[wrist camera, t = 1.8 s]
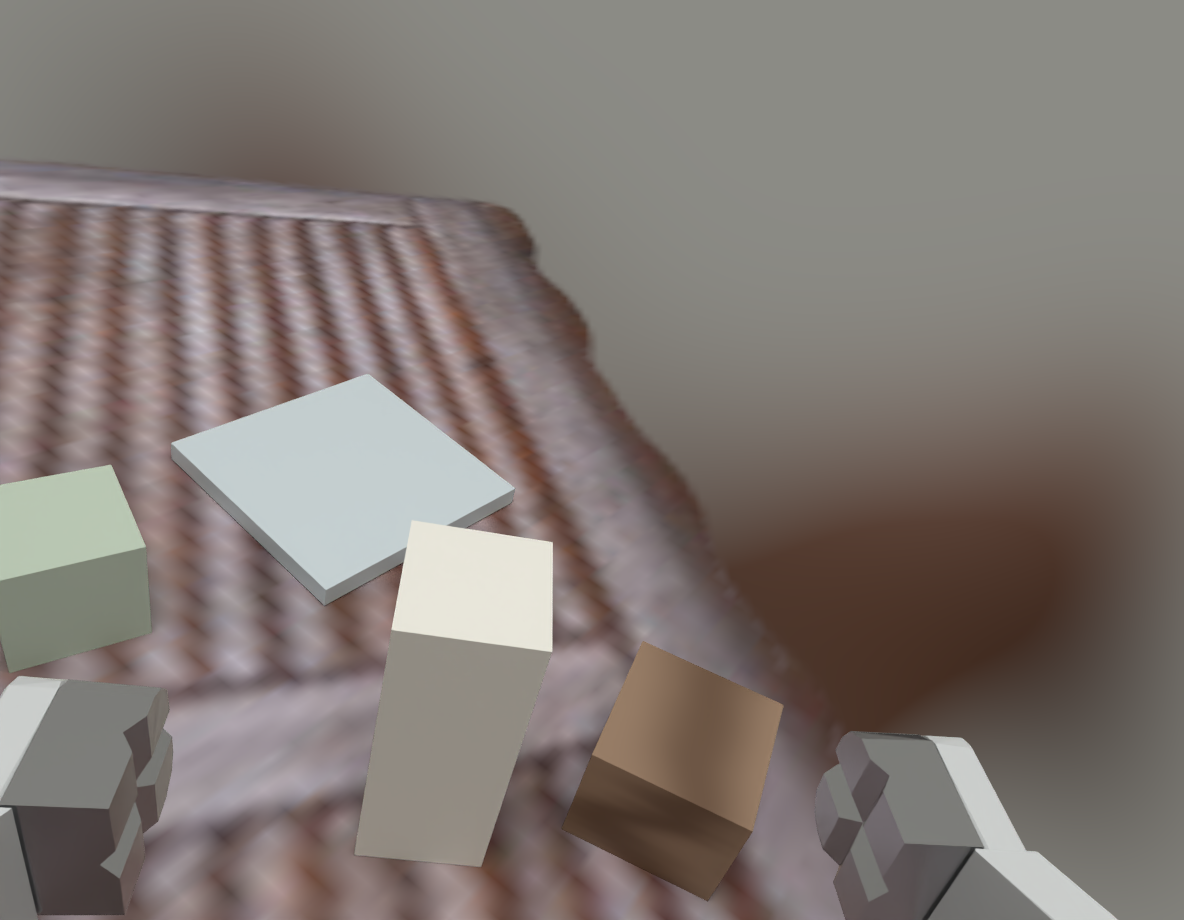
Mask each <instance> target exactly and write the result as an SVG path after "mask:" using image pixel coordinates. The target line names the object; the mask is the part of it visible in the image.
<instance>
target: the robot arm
mask: <svg viewBox="0 0 1184 920" xmlns="http://www.w3.org/2000/svg"><path fill="white" fill-rule="evenodd" d="M169 710H170V709H169V701H168V694H167V690H166V689H163V688H157V687H146V686H134V685H123V684H112V683H101V682H89V681H78V680H62V679H49V678H37V677H25V676H18V677H17V678H16V679H15V680H14V681H13V682H12V683H10V684H9V685H8V686H7V687H6V688H5V689H4V691H3V693H2V694H1V696H0V920H38V916H37V915H125V913H126V910H127V908H128V905H129V902H130V899H131V896H132V894H133V891H134V888H135V885H136V882H137V880H138V877H139V874H140V871H141V868H142V866H143V863H144V860H145V850H144V841H143V833H144V832H146V831H147V830H148V829H149V828H150V827H152V826H153V825H154V824H155V823H157V822H158V820H159V817H160V814H161V811H162V808H163V805H164V802H165V799H166V796H167V791H168V786H169V781H170V777H171V772H172V759H173V744H172V736H171V735H170V734H168V733H167V732H166V731H165V730H164V729H163V726H164V724H165V721H166V718H167V716H168V713H169ZM836 753H837V756H838V759H839V761H840V764H838V765H836V766H835V767H833V768H832V769H830V770H829V771H827V772H826V773H824V775H823V777H822V780H821V782H820V784H819V786H818V789H817V791H816V802H815V819H816V827H817V832H818V835H819V838H820V842H821V845H822V848H823V850H824V851H825V852H826V853H827V854H828V855H829V856H830V857H831V858H832V859H833V860H834V861H835V862H836V863H837V864H838V865H839V868H838V871H837V874H836V876H835V879H834V881H833V883H834V886H835V889H836V892H837V895H838V898H839V901H840V904H841V907H842V910H843V914H844V917H845V920H1117V919H1116V918H1115V917H1114V916H1113V915H1111V914H1110V913H1109V912H1108V911H1107V910H1106V909H1104V908H1103V907H1102V906H1101V905H1100V904H1098V903H1097V902H1096V901H1095V900H1093V899H1092V898H1091V897H1090V896H1089V895H1088V894H1087V893H1085V892H1084V891H1083V890H1082V889H1080V888H1079V887H1078V886H1077V885H1076V884H1075V883H1074V882H1072V881H1071V880H1070V879H1069V878H1068V877H1066V876H1065V875H1064V874H1063V873H1062V872H1060V871H1059V870H1058V869H1057V868H1056V867H1055V866H1053V865H1052V864H1051V863H1050V862H1049V861H1047V860H1046V859H1045V858H1044V857H1043V856H1041V855H1040V854H1039V853H1038V852H1034V851H1026V850H1025V848H1024V846H1023V844H1022V842H1021V840H1020V838H1019V836H1018V834H1017V833H1016V831H1015V829H1014V827H1013V825H1012V823H1011V821H1010V820H1009V817H1008V815H1007V814H1006V812H1005V810H1004V808H1003V806H1002V804H1001V802H1000V800H999V799H998V797H997V795H996V793H995V791H994V789H993V787H992V785H991V783H990V781H989V779H988V778H987V776H986V774H985V772H984V770H983V768H982V766H981V764H980V762H979V761H978V759H977V757H976V755H975V753H974V751H973V749H972V747H971V746H970V745H969V744H968V743H967V742H966V741H965V740H963V738H953V737H937V736H921V735H913V734H894V733H874V732H855V731H851V732H849V733H848V734H846V735H845V736H843V737H842V739H841V741H840V743H839V745H838V747H837V749H836Z"/></svg>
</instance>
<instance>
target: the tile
mask: <svg viewBox="0 0 1184 920" xmlns="http://www.w3.org/2000/svg"><path fill="white" fill-rule="evenodd" d="M171 453H172V460H173V461H174V462H176V463H177V464H178V465H179V466H180V467H181V468H182V469H183V470H184V471H185V472H186V473H187V474H188V475H189V476H190V477H191V478H192V479H193V480H194V481H195V482H196V483H197V484H198V485H199V486H200V487H202V488H203V489H204V490H205V491H206V492H207V493H208V494H209V495H210V496H211V497H212V498H213V499H214V500H215V501H216V502H217V503H218V504H219V505H220V506H221V507H222V508H223V509H224V510H225V511H226V512H228V513H229V514H230V515H231V516H232V517H233V518H234V519H235V520H236V521H237V522H238V523H239V524H240V525H241V526H242V527H243V528H244V529H245V530H246V531H247V532H248V533H249V534H250V535H251V536H252V537H254V538H255V539H256V540H257V541H258V542H259V543H260V544H261V545H262V546H263V547H264V548H265V549H266V550H267V551H268V552H269V553H270V554H271V555H272V556H273V557H274V558H275V559H276V560H277V561H279V562H280V563H281V564H282V565H283V566H284V567H285V568H286V569H287V570H288V571H289V572H290V573H291V574H292V575H293V576H294V577H295V578H296V579H297V580H298V581H299V582H300V583H301V584H302V585H303V586H305V587H306V588H307V589H308V590H309V591H310V592H311V593H312V594H313V595H314V596H315V597H316V598H317V599H318V600H319V601H320V602H321V603H322V604H323V605H324V606H325V605H327V604H328V603H330V602H332V601H334V600H336V599H338V598H339V597H341V596H343V595H345V594H347V593H348V592H350V591H352V590H354V589H356V588H358V587H359V586H361V585H363V584H365V583H367V582H368V581H370V580H372V579H374V578H376V577H378V576H379V575H381V574H383V573H385V572H387V571H388V570H390V569H392V568H394V567H396V566H398V565H399V564H401V563H403V562H404V559H405V554H406V549H407V543H408V538H409V532H410V527H411V521H412V520H414V521H420V522H427V523H433V524H439V525H446V526H452V527H458V528H467V527H468V526H470V525H472V524H474V523H476V522H478V521H479V520H481V519H483V518H485V517H487V516H488V515H490V514H492V513H494V512H496V511H498V510H499V509H501V508H503V507H505V506H507V505H508V504H510V503H512V500H513V496H514V492H515V488H514V487H513V486H511V485H510V484H509V483H508V482H506V481H505V480H504V479H502V478H501V477H500V476H499V475H497V474H496V473H495V472H493V471H492V470H491V469H490V468H488V467H487V466H486V465H484V464H483V463H482V462H481V461H479V460H478V459H477V458H475V457H474V456H473V455H472V454H470V453H469V452H468V451H466V450H465V449H464V448H463V447H461V446H460V445H459V444H457V443H456V442H455V441H454V440H452V439H451V438H450V437H448V436H447V435H446V434H445V433H443V432H442V431H441V430H439V429H438V428H437V427H436V426H434V425H433V424H432V423H431V422H429V421H428V420H427V419H425V418H424V417H423V416H422V415H420V414H419V413H418V412H416V411H415V410H414V409H413V408H411V407H410V406H409V405H407V404H406V403H405V402H404V401H402V400H401V399H400V398H398V397H397V396H396V395H395V394H393V393H392V392H391V391H389V390H388V389H387V388H386V387H384V386H383V385H382V384H380V383H379V382H378V381H377V380H375V379H374V378H373V377H371V376H370V375H369V374H366V375H363V376H360V377H357V378H354V379H351V380H349V381H346V382H343V383H340V384H337V385H334V386H332V387H329V388H326V389H323V390H320V391H317V392H315V393H312V394H309V395H306V396H303V397H300V398H298V399H295V400H292V401H289V402H286V403H283V404H281V405H278V406H275V407H272V408H269V409H266V410H263V411H261V412H258V413H255V414H252V415H249V416H246V417H244V418H241V419H238V420H235V421H232V422H229V423H227V424H224V425H221V426H218V427H215V428H212V429H210V430H207V431H204V432H201V433H198V434H195V435H193V436H190V437H187V438H184V439H181V440H178V441H175V442H173V443H171Z"/></svg>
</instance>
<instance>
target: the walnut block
mask: <svg viewBox="0 0 1184 920" xmlns="http://www.w3.org/2000/svg"><path fill="white" fill-rule="evenodd" d="M782 709H783V705H782V704H780V703H778V702H776V701H773V700H771V699H769V698H767V697H765V696H763V695H760V694H758V693H756V692H754V691H752V690H749V689H747V688H745V687H743V686H741V685H738V684H736V683H734V682H732V681H730V680H727V679H725V678H723V677H721V676H719V675H716V674H714V673H712V672H710V671H708V670H705V669H703V668H701V667H699V666H697V665H694V664H692V663H690V662H688V661H686V660H684V659H681V658H679V657H677V656H675V655H673V654H670V653H668V652H666V651H664V650H662V649H659V648H657V647H655V646H653V645H651V644H648V643H646V642H644V641H643V642H642V644H641V646H640V649H639V651H638V653H637V655H636V657H635V660H634V662H633V664H632V666H631V669H630V671H629V673H628V675H627V678H626V680H625V682H624V684H623V687H622V689H621V691H620V693H619V695H618V698H617V700H616V702H615V704H614V707H613V709H612V711H611V713H610V716H609V718H608V720H607V722H606V725H605V727H604V729H603V731H602V733H601V736H600V738H599V740H598V742H597V745H596V747H595V749H594V751H593V754H592V756H591V758H590V761H589V763H588V766H587V768H586V771H585V773H584V775H583V778H582V780H581V783H580V785H579V788H578V790H577V792H576V795H575V797H574V800H573V802H572V805H571V807H570V809H569V812H568V814H567V817H566V819H565V822H564V824H563V826H562V830H564V831H566V832H568V833H571V834H573V835H575V836H577V837H579V838H581V839H583V840H585V841H587V842H589V843H591V844H593V845H595V846H597V847H599V848H601V849H603V850H605V851H607V852H609V853H611V854H613V855H615V856H617V857H619V858H621V859H623V860H625V861H627V862H629V863H631V864H633V865H635V866H637V867H639V868H641V869H643V870H645V871H647V872H649V873H651V874H654V875H656V876H658V877H660V878H662V879H664V880H666V881H668V882H670V883H672V884H674V885H676V886H678V887H680V888H682V889H684V890H686V891H688V892H690V893H692V894H694V895H696V896H698V897H700V898H702V899H704V900H706V901H708V900H709V898H710V897H711V895H712V894H713V892H714V891H715V889H716V887H717V886H718V884H719V883H720V881H721V880H722V878H723V877H724V875H725V874H726V872H727V870H728V869H729V867H730V866H731V864H732V863H733V861H734V860H735V858H736V856H737V855H738V853H739V852H740V850H741V849H742V847H743V846H744V844H745V842H746V841H747V839H748V838H749V836H750V835H751V833H752V832H753V828H754V824H755V820H756V815H757V811H758V807H759V803H760V799H761V795H762V791H763V787H764V783H765V779H766V775H767V770H768V766H769V762H770V758H771V754H772V750H773V746H774V742H775V738H776V734H777V729H778V725H779V721H780V717H781V713H782Z"/></svg>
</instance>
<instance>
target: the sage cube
mask: <svg viewBox="0 0 1184 920" xmlns="http://www.w3.org/2000/svg"><path fill="white" fill-rule="evenodd" d="M150 633H152V628H151V613H150V599H149V584H148V570H147V555H146V546H145V543H144V541H143V539H142V536H141V534H140V532H139V529H138V527H137V525H136V522H135V520H134V518H133V515H132V513H131V510H130V508H129V506H128V503H127V501H126V499H125V496H124V494H123V492H122V489H121V487H120V485H119V482H118V480H117V477H116V475H115V473H114V470H113V468H112V466H111V465H107V466H102V467H96V468H91V469H85V470H80V471H74V472H69V473H63V474H57V475H52V476H46V477H41V478H35V479H30V480H24V481H19V482H13V483H8V484H2V485H0V640H1V644H2V648H3V652H4V655H5V659H6V663H7V667H8V670H9V673H12V672H15V671H19V670H22V669H26V668H29V667H33V666H36V665H40V664H44V663H47V662H51V661H54V660H58V659H61V658H65V657H68V656H72V655H75V654H79V653H83V652H86V651H90V650H93V649H97V648H100V647H104V646H107V645H111V644H114V643H118V642H121V641H125V640H129V639H132V638H136V637H139V636H143V635H146V634H150Z"/></svg>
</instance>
